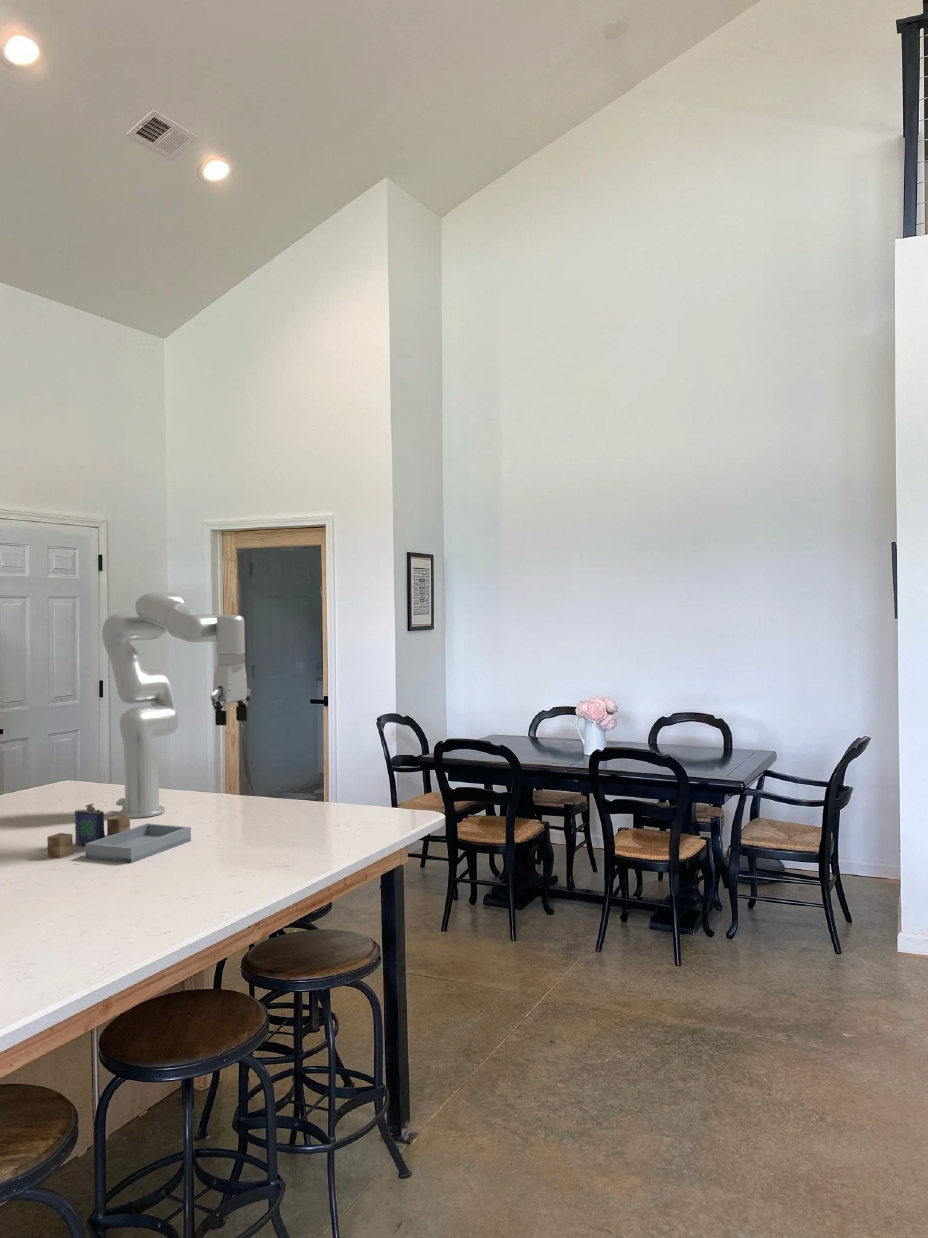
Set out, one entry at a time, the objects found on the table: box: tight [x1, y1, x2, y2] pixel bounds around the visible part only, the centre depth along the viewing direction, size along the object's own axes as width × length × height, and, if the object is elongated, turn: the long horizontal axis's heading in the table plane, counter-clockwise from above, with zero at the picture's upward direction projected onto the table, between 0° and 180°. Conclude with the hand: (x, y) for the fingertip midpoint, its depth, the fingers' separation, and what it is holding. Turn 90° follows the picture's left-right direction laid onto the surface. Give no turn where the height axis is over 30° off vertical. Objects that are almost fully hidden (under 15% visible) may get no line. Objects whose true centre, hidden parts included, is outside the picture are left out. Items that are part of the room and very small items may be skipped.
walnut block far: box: [106, 815, 131, 837], centre depth 244 cm, size 4×4×5 cm
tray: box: [84, 823, 192, 864], centre depth 230 cm, size 14×22×4 cm, turn 158°
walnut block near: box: [47, 832, 74, 859], centre depth 225 cm, size 4×4×5 cm
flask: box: [74, 802, 106, 847], centre depth 235 cm, size 9×3×11 cm, turn 65°
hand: (231, 722), depth 250 cm, fingers open, 9 cm apart
